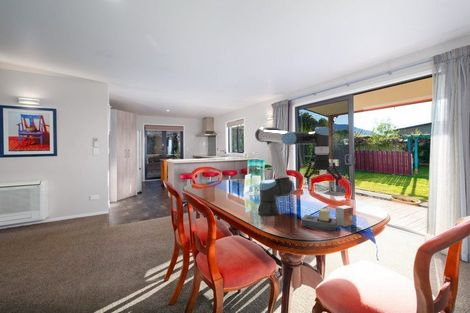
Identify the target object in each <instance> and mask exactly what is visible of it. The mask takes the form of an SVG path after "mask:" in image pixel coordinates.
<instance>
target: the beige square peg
mask: <svg viewBox="0 0 470 313" xmlns="http://www.w3.org/2000/svg"><path fill="white" fill-rule="evenodd" d="M330 214H331V210H330V208H321V207H320V208H319V210H318V217H319V221H320V222H327V223H330V218H331V215H330Z"/></svg>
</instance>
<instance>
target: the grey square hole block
mask: <svg viewBox="0 0 470 313" xmlns="http://www.w3.org/2000/svg"><path fill="white" fill-rule="evenodd" d="M300 222H301V224H300V225H301V227H304V228H309V229H316V230H323V231H328V232H335V233H336V230H337V228H338V225H337V219H336V218H331V217H330V223H327V222H320V221H319V215H318V216H317V215H309V214H304V215H303V217H302V218H301V221H300Z"/></svg>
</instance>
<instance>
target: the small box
mask: <svg viewBox="0 0 470 313" xmlns="http://www.w3.org/2000/svg"><path fill="white" fill-rule="evenodd" d="M335 219H337V226H340V227H344V228H345V227H349V226H353V225H354V207H353V206H350V205H349V206H348V205H346V204H344V205H339V206H335Z"/></svg>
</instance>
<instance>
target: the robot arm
mask: <svg viewBox="0 0 470 313" xmlns="http://www.w3.org/2000/svg"><path fill="white" fill-rule="evenodd" d="M254 133H255V134H254V136H255V139H256V141H257V142H260V143H266V144H267V147H269V151H270V156H271V161H272V167H273V171H274V179H265V180H261V181H260V183H259V205H258V209H257V214H258V213H259V214H258V215H260V216H265V217H274V216H278V215H279V214H280V208H279V206H278V203H277V198H280V197H283V198H284V197H288V196H291V195H293V194H294V191H295V183H294V181H293V180H292V179H290V176H289V175H288V174H287V169H286V165H285V161H284V155H283V151H282V144H284V145H287V146H292V145H306V146H307V145H314V153H315V155H314V162H312V161H310V162H309V164H308V166H307V169H306V170H305V173H304V175H303V178H306V183H307V185H308V190H309V191H311V189H312V178H311V177H312V176H313V175H314V174H315V173H316V172H317V170H318V171H326V172H328V173H329V174H330V175H331V176H332V178H334V180H333V192H334V193H336V192H337V187H338V186H339V180H342V178H343V177H342V176H341V173H340V171H339V170H338V168H337V166H336V162H330V154H329V153H330V131H329V127H327V126H319V127H318V126H317V127H315V128H314V131H285V130H282V128H280V127H275V126H274V127H269V126H268V127H265V126H262V127H260V128H257V129H256V131H255V132H254ZM313 166H314V167H315V168H313V170H312V171H311V169H312V167H313ZM330 166H331V167H332V169H333V170H334V172H335V173H334V172H333V171H332V170H331V168H330ZM310 171H311V172H310Z"/></svg>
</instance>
